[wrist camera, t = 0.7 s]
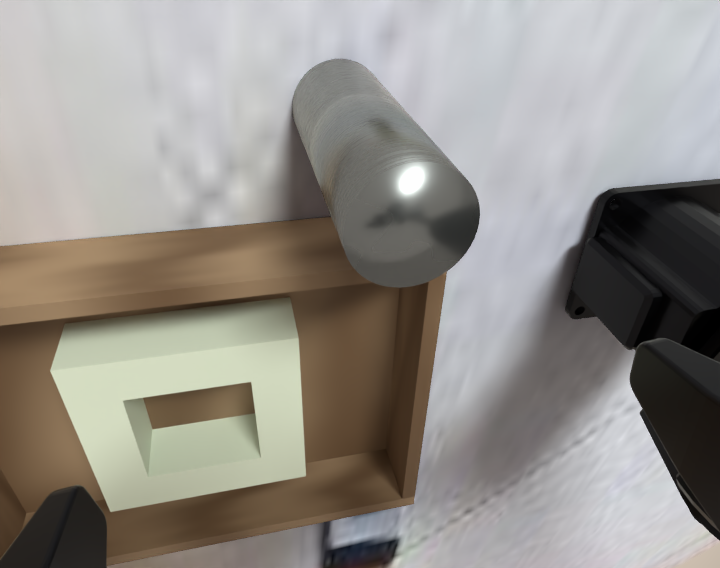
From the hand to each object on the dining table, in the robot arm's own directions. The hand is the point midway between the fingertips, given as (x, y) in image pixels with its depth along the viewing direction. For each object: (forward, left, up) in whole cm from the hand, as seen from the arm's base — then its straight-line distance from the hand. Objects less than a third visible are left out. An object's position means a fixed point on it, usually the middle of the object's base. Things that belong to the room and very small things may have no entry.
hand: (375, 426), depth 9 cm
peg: (-2, -1, -12) cm, 12 cm away
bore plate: (+4, +10, -12) cm, 16 cm away
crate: (+4, +10, -12) cm, 16 cm away
